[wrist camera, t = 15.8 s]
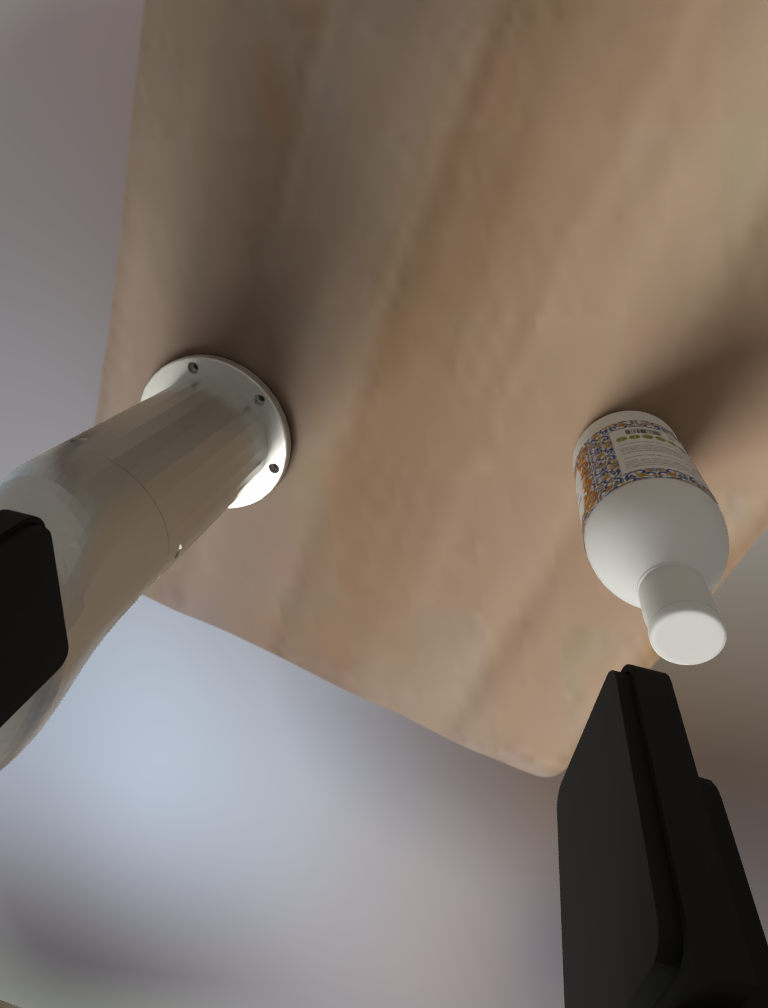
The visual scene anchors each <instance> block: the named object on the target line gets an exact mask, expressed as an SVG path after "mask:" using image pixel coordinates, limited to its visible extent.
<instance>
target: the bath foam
mask: <svg viewBox="0 0 768 1008" xmlns="http://www.w3.org/2000/svg"><path fill="white" fill-rule="evenodd" d="M573 469H574V478H575V485H576V492H577V499H578V505H579V512H580V519H581V526H582V532H583V539H584V546H585V550H586V554H587V556H588V559H589V561H590V563H591V566H592V568H593V569H594V571H595V573H596V575H597V576H598V577H599V579H600V580H601V581H602V583H603V584H604V585H605V586H606V587H607V588H608V589H609V590H610V591H611V592H612V593H614V594H615V595H616V596H618V597H619V598H621V599H622V600H624V601H625V602H627V603H629V604H631V605H634V606H636V607H639V608H641V610H642V613H643V617H644V620H645V623H646V625H647V627H648V635H649V640H650V643H651V645H652V647H653V649H654V650H655V651H656V652H657V654H658V655H660V656H661V657H662V658H664V659H666V660H667V661H670V662H672V663H676V664H682V665H693V664H700V663H703V662H706V661H708V660H710V659H712V658H713V657H715V656H716V655H717V654H719V653H720V652H721V650H722V649H723V648H724V646H725V643H726V639H727V630H726V626H725V624H724V622H723V619H722V617H721V615H720V612H719V610H718V608H717V606H716V604H715V602H714V599H713V597H712V595H711V593H710V592H711V591H712V590H713V588H714V587H715V586H716V584H717V583H718V581H719V580H720V578H721V576H722V574H723V572H724V569H725V567H726V564H727V559H728V554H729V537H728V531H727V526H726V523H725V520H724V517H723V515H722V513H721V511H720V509H719V507H720V506H719V507H718V505H717V504H718V503H717V501H716V500H715V498H714V496H713V495H712V493H711V492H710V490H709V488H708V487H707V485H706V483H705V482H704V480H703V478H702V477H701V475H700V473H699V472H698V470H697V468H696V467H695V465H694V463H693V462H692V460H691V458H690V457H689V455H688V453H687V452H686V450H685V448H684V447H683V445H682V444H681V442H680V441H679V440H678V438H677V437H676V435H675V433H674V432H673V431H672V429H671V428H670V427H669V426H668V425H667V424H666V423H665V422H664V421H662V420H661V419H659V418H658V417H656V416H654V415H651V414H649V413H645V412H641V411H620V412H615V413H612V414H609V415H606V416H604V417H602V418H600V419H598V420H597V421H595V422H594V423H593V424H591V425H590V426H589V427H588V428H587V429H586V430H585V431H584V432H583V434H582V435H581V437H580V438H579V440H578V442H577V444H576V447H575V450H574V454H573ZM715 501H716V502H715Z"/></svg>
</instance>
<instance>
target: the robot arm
mask: <svg viewBox="0 0 768 1008" xmlns="http://www.w3.org/2000/svg"><path fill="white" fill-rule="evenodd" d="M196 364H197V365H196ZM197 366H198V367H197ZM261 395H262V396H263V397H264V399H265V400H264V399H262V397H261ZM290 452H291V438H290V430H289V426H288V423H287V419H286V416H285V414H284V412H283V410H282V408H281V406H280V404H279V402H278V400H277V399H276V397H275V396H274V394H273V393H272V392H271V390H270V389H269V388H268V387H267V386H266V385H265V384H264V383H263V382H262V381H261V380H260V378H259V377H258V376H256V375H255V374H253V373H252V372H251V371H249V370H248V369H247V368H245V367H244V366H242V365H240V364H238V363H236V362H233V361H231V360H229V359H226V358H222V357H219V356H215V355H203V354H198V355H191V356H185V357H182V358H180V359H177V360H174V361H172V362H170V363H169V364H167V365H165V366H163V367H161V368H160V369H159V370H158V371H157V372H156V373H155V374H154V375H153V376H152V377H151V378H150V380H149V381H148V383H147V384H146V386H145V388H144V390H143V393H142V396H141V398H140V403H138V404H136V405H134V406H132V407H130V408H129V409H127V410H125V411H123V412H121V413H119V414H117V415H115V416H113V417H111V418H109V419H107V420H105V421H104V422H102V423H100V424H98V425H96V426H94V427H92V428H90V429H88V430H86V431H84V432H83V433H81V434H79V435H77V436H75V437H73V438H71V439H69V440H67V441H65V442H63V443H61V444H59V445H58V446H56V447H54V448H52V449H50V450H48V451H46V452H44V453H43V454H40V455H38V456H36V457H34V458H33V459H31V460H29V461H27V462H26V463H24V464H22V465H21V466H19V467H18V468H16V469H15V470H14V471H12V472H11V473H10V474H9V475H8V476H7V477H6V478H5V479H4V480H3V481H2V482H1V483H0V771H1V770H2V769H3V768H4V767H5V766H7V765H8V764H9V763H10V762H11V761H12V760H13V759H15V758H16V757H17V756H18V755H19V753H21V751H22V750H23V749H24V748H25V747H26V746H27V745H28V744H29V743H30V742H31V740H33V738H34V737H35V736H36V735H37V734H38V733H39V732H40V730H41V729H42V728H43V727H44V725H45V724H46V722H47V721H48V720H49V718H50V717H51V715H52V714H53V713H54V711H55V710H56V708H57V707H58V706H59V704H60V703H61V701H62V700H63V698H64V697H65V695H66V693H67V692H68V690H69V688H70V687H71V685H72V684H73V682H74V680H75V679H76V677H77V676H78V674H79V673H80V671H81V669H82V668H83V666H84V665H85V663H86V662H87V660H88V659H89V657H90V656H91V655H92V653H93V651H94V650H95V649H96V648H97V646H98V645H99V644H100V642H101V641H102V640H103V638H104V637H105V636H106V635H107V633H108V632H109V631H110V630H111V629H112V627H113V626H114V625H115V624H116V623H117V622H118V620H119V619H120V618H121V617H122V616H123V615H124V614H125V612H127V610H128V609H129V608H130V607H131V606H132V605H133V604H134V603H135V602H136V601H137V600H138V599H139V598H140V597H141V596H142V595H143V594H144V593H145V592H146V591H147V589H148V588H149V587H150V586H151V585H152V584H153V583H154V582H155V581H156V580H157V579H158V578H159V577H160V576H161V575H162V574H163V573H164V572H165V571H166V570H167V569H168V568H169V567H170V566H171V565H172V564H173V563H174V562H175V561H176V560H177V559H178V558H179V557H180V556H181V555H182V554H183V553H184V552H185V551H186V550H187V549H188V548H189V547H190V546H191V545H192V544H193V543H194V542H195V541H196V540H197V539H198V538H199V537H200V536H201V535H202V534H203V533H204V532H205V531H206V530H207V529H208V528H209V527H210V526H211V525H212V523H213V522H214V521H215V520H216V519H217V518H218V517H219V516H220V515H221V514H222V513H223V512H224V511H225V510H226V509H229V508H241V507H245V506H249V505H252V504H254V503H256V502H258V501H260V500H262V499H263V498H264V497H266V496H267V495H268V494H269V493H270V492H272V491H273V489H274V488H275V487H276V486H277V485H278V484H279V482H280V481H281V479H282V477H283V476H284V474H285V472H286V470H287V467H288V463H289V460H290ZM276 464H277V465H278V466H277V465H276ZM557 822H558V846H559V847H558V848H559V873H560V897H561V922H562V923H561V924H562V949H563V975H564V1000H565V1008H768V945H767V942H766V938H765V935H764V932H763V929H762V926H761V923H760V920H759V916H758V913H757V910H756V906H755V904H754V900H753V897H752V894H751V891H750V887H749V884H748V881H747V878H746V875H745V871H744V868H743V865H742V862H741V859H740V856H739V853H738V849H737V846H736V843H735V840H734V836H733V833H732V830H731V827H730V824H729V820H728V817H727V814H726V811H725V808H724V805H723V802H722V798H721V796H720V794H719V791H718V789H717V787H716V786H715V785H714V784H713V783H712V781H711V780H708V779H704V778H701V777H698V773H697V770H696V766H695V763H694V759H693V756H692V752H691V749H690V745H689V742H688V738H687V735H686V731H685V728H684V724H683V721H682V717H681V714H680V710H679V707H678V704H677V700H676V697H675V693H674V690H673V686H672V682H671V680H670V677H669V676H668V675H667V674H666V673H662V672H658V671H654V670H650V669H646V668H642V667H638V666H634V665H630V664H627V665H625V666H624V667H623V669H622V671H621V672H618V671H614V670H611V671H610V672H609V673H608V675H607V677H606V679H605V682H604V684H603V686H602V689H601V691H600V693H599V696H598V698H597V700H596V703H595V705H594V707H593V710H592V712H591V714H590V717H589V719H588V721H587V724H586V726H585V729H584V731H583V733H582V736H581V738H580V740H579V743H578V745H577V747H576V750H575V752H574V754H573V757H572V759H571V761H570V764H569V766H568V768H567V771H566V773H565V776H564V778H563V780H562V783H561V786H560V789H559V794H558V800H557ZM0 1008H20V1007H18V1006H15V1005H12V1004H9V1003H7V1002H4V1001H1V1000H0Z"/></svg>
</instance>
